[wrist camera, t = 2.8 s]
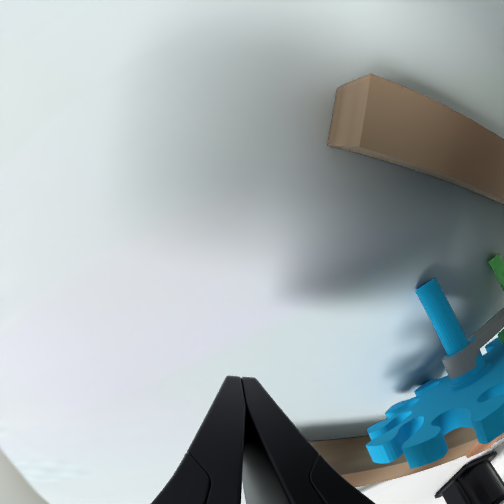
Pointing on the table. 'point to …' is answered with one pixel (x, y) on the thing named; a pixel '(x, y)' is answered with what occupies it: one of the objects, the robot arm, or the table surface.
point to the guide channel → (428, 162)
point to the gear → (448, 388)
